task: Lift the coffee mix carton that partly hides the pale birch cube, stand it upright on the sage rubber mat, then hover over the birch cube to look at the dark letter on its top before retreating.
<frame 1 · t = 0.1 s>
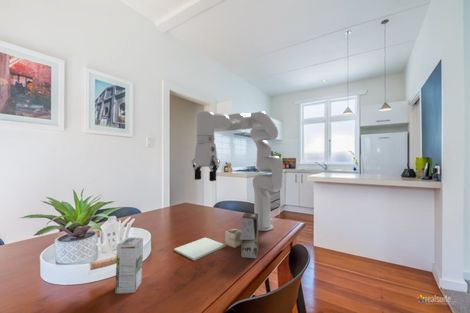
hand: (205, 180, 88), 31 cm above the table, tool pointing down, fingers open, 9 cm apart
syrup box: (129, 288, 63), on the table
birch cube: (234, 244, 98), on the table
sage mat: (200, 248, 92), on the table
coffee box: (250, 253, 88), on the table
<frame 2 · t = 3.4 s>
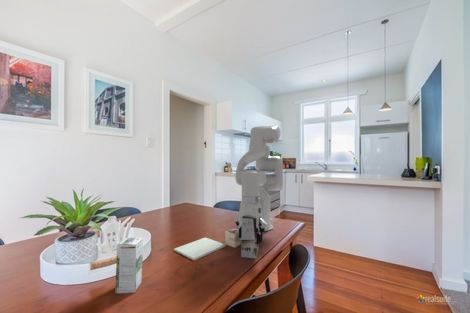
hand: (250, 240, 88), 6 cm above the table, tool pointing down, fingers closed on coffee box, 9 cm apart
coffee box: (250, 253, 88), on the table, touching gripper
everything else where it was.
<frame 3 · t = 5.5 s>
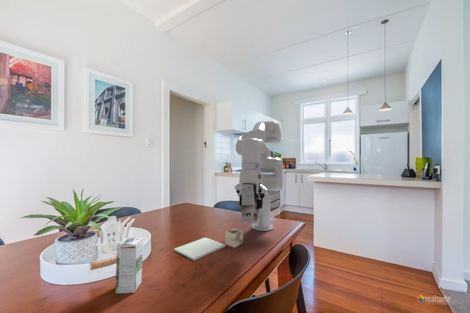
hand: (250, 206, 89), 20 cm above the table, tool pointing down, fingers closed on coffee box, 8 cm apart
coffee box: (250, 220, 89), point 14 cm above the table, touching gripper
everything else where it was.
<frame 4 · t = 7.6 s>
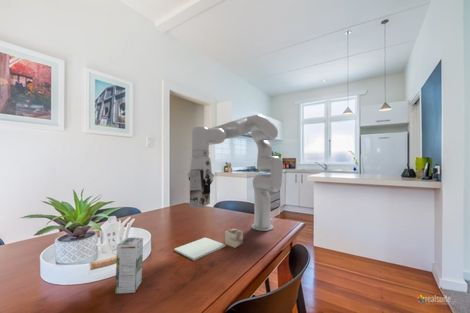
hand: (200, 192, 92), 25 cm above the table, tool pointing down, fingers closed on coffee box, 8 cm apart
coffee box: (200, 205, 92), point 19 cm above the table, touching gripper
everything else where it was.
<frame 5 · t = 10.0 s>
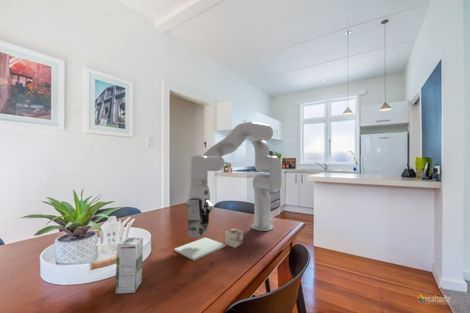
hand: (198, 221, 92), 12 cm above the table, tool pointing down, fingers closed on coffee box, 8 cm apart
coffee box: (198, 234, 92), point 7 cm above the table, touching gripper
everything else where it was.
when the fingers open (7 cm above the table, at t = 12.1 s): coffee box drops 1 cm, resting on sage mat.
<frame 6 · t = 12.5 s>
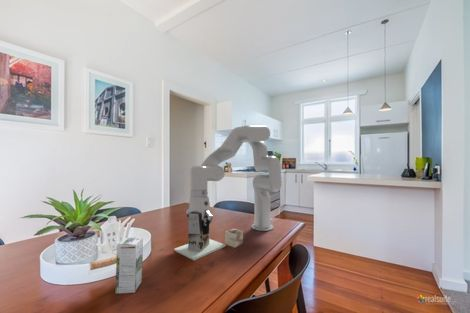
hand: (198, 231, 92), 8 cm above the table, tool pointing down, fingers open, 9 cm apart
coffee box: (199, 247, 92), point 1 cm above the table, touching sage mat
everything else where it was.
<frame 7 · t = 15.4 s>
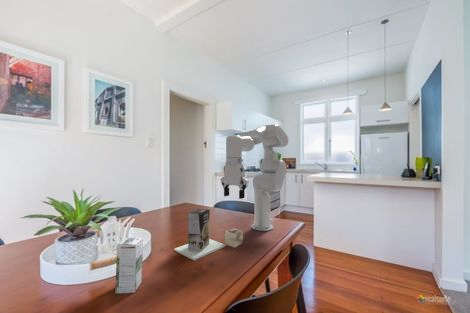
hand: (234, 197, 98), 22 cm above the table, tool pointing down, fingers open, 9 cm apart
nothing on the table moved.
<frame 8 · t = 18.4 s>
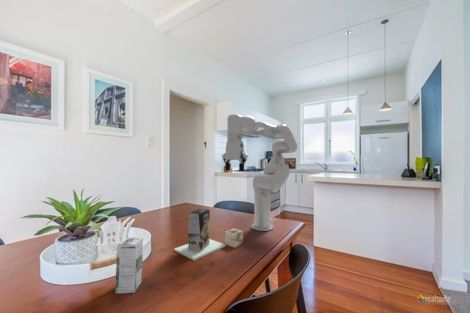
hand: (234, 170, 108), 34 cm above the table, tool pointing down, fingers open, 9 cm apart
nothing on the table moved.
at the end: coffee box inside the target area on the sage mat (0.6 cm from its centre), point 0.6 cm above the sage mat's base; coffee box tilted 0°; birch cube moved 0.1 cm from its start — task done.
